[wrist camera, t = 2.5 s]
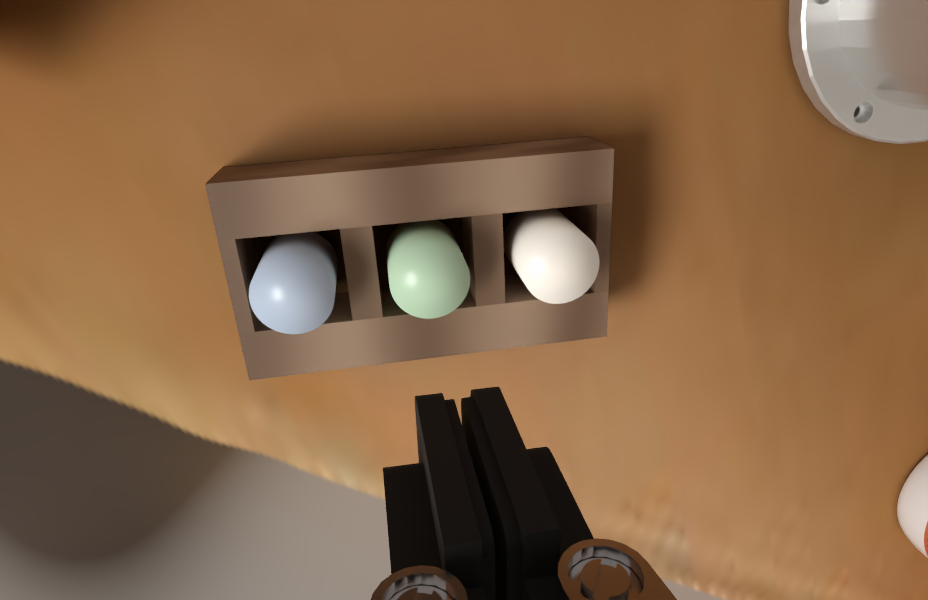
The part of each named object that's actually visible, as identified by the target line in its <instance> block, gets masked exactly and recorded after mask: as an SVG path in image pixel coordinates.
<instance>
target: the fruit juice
mask: <svg viewBox="0 0 928 600" xmlns="http://www.w3.org/2000/svg"><path fill="white" fill-rule="evenodd" d="M897 517H898V521H899V524H900V526H901V528H902V530H903V532H904V533H905V535H906V536H907V537H908V539H909V540H910V541H911V542H912V543H913V544H914V546H915V547H916V548H917V549H918V550H919V551H920V552H921V553H922V554H924V555H925V556H926V557H927V558H928V454H927V455H926V456H925V457H924V458H923V459H922V460H921V461H920V462H919V463H918V464H917V466H916V467H915V468H914V469H913V471H912V472H911V473H910V475H909V476H908V478H907V480H906V481H905V483H904V485H903V487H902V490H901V492H900V495H899V499H898V503H897Z"/></svg>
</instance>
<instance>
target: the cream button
mask: <svg viewBox="0 0 928 600" xmlns="http://www.w3.org/2000/svg"><path fill="white" fill-rule="evenodd" d="M503 245H504V251H505V254H506V256H507V258H508V259H509V261H510V262H511V264H512V266H513V267H514V269H515V270H516V272H517V273H518V275H519V276H520V278H521V279H522V281H523V282H524V284H525V285H526V287H527V289H528V290H529V291H530V292H531V294H532V295H533V296H535V297H536V298H537V299H539V300H541V301H543V302H546V303H551V304H562V303H567V302H570V301H573V300H575V299H577V298H579V297H580V296H582V295H583V294H584V293H585V292H586V291H587V290H588V289H589V288H590V287H591V286H592V284H593V283H594V281H595V279H596V277H597V274H598V270H599V254H598V251H597V248H596V246H595V245H594V243H593V242H592V241H591V240H590V239H589V238H588V237H587V236H586V235H585V234H584V233H583V232H582V231H581V230H580V229H578V228H577V227H576V226H575V225H574V224H573V223H572V222H571V221H570V220H568V219H567V218H566V217H565V216H564V215H563V214H562V213H560V212H559V211H558V210H556V209H554V208H551V209H541V210H531V211H521V212H519V213H518V214H517V215H516V216H515V217H513V219H512V220H511V221H510V222H509V224H508V226H507V228H506V230H505V234H504V239H503Z"/></svg>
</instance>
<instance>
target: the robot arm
mask: <svg viewBox="0 0 928 600" xmlns="http://www.w3.org/2000/svg"><path fill="white" fill-rule="evenodd" d="M789 39H790V46H791V52H792V58H793V64H794V66H795V69H796V72H797V75H798V77H799V80H800V83H801V85H802V88H803V90H804V91H805V93H806V94H807V96H808V97H809V99H810V100H811V102H812V103H813V105H814V107H815V108H816V109H817V110H818V111H819V112H820V113H821V114H822V115H823V116H824V117H825V118H826V119H828V120H829V121H830V122H831V123H832V124H833V125H835V126H837V127H839V128H840V129H842V130H844V131H846V132H848V133H850V134H851V135H854V136H858V137H862V138H866V139H870V140H874V141H879V142H886V143H894V144H907V143H918V142H926V141H928V0H790V1H789ZM415 411H416V425H417V440H418V455H419V463H417V464H409V465H401V466H394V467H386V468H383V474H384V487H385V499H386V512H387V523H388V536H389V548H390V560H391V573H392V574H391V575H390V576H389V577H388V578H386V579H385V580H383V581H382V582H381V583H380V585H379V586H378V587H377V589H376V590H375V591H374V593H373V595H372V598H371V600H677V599H676V598H675V597H674V595H673V594H672V593H671V591H670V590H669V589H668V588H667V586H666V585H665V584H664V582H663V581H662V580H661V579H660V577H659V576H658V575H657V574H656V572H655V571H654V570H653V568H652V567H651V566H650V565H649V563H648V562H647V561H646V560H645V559H644V558H643V557H642V556H641V555H640V554H639V553H638V552H637V551H635V550H633V549H632V548H630V547H628V546H627V545H625V544H622V543H619V542H616V541H613V540H607V539H594V538H593V536H592V534H591V532H590V530H589V528H588V526H587V524H586V522H585V520H584V518H583V516H582V514H581V512H580V510H579V507H578V505H577V503H576V501H575V499H574V497H573V495H572V493H571V491H570V489H569V487H568V485H567V483H566V481H565V479H564V477H563V475H562V473H561V471H560V469H559V467H558V465H557V463H556V461H555V459H554V457H553V455H552V453H551V451H550V450H549V448H547V447H540V448H533V449H526V447H525V445H524V443H523V441H522V438H521V436H520V434H519V431H518V429H517V427H516V424H515V422H514V420H513V418H512V415H511V413H510V411H509V408H508V406H507V404H506V401H505V399H504V397H503V395H502V392H501V390H500V388H499V387H492V388H483V389H474V390H471V395H470V397H468V398H462V399H461V412H462V425H461V421H460V418H459V415H458V411H457V408H456V404H455V401H454V399H451V400H444V397H443V394H442V393H439V394H430V395H421V396H415Z"/></svg>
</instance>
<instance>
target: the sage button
mask: <svg viewBox="0 0 928 600" xmlns="http://www.w3.org/2000/svg"><path fill="white" fill-rule="evenodd" d="M386 259H387V268H388V277H389V286H390V291H391V294H392V297H393V299H394V301H395V302H396V303H397V305H398V306H399V307H400V308H401V309H402V310H404V311H405V312H406V313H408V314H410V315H412V316H415V317H418V318H425V319H432V318H438V317H442V316H445V315H447V314H449V313H451V312H452V311H454V310H455V309H456V308H457V307H458V306H459V305H460V304H461V303H462V302H463V301H464V299H465V297H466V295H467V293H468V290H469V287H470V272H469V269H468V266H467V264H466V261H465V259H464V257H463V255H462V253H461V251H460V248H459V246H458V244H457V242H456V240H455V237H454V235H453V234H452V232H451V231H450V229H449V228H448V227H447V226H446V225H445V224H443V223H442V222H440V221H438V220H428V221H417V222H407V223H401V224H400V225H399V226H397V227H396V228H395V229H394V231H393V232H392V233H391V235H390V237H389V239H388V242H387V245H386Z"/></svg>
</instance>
